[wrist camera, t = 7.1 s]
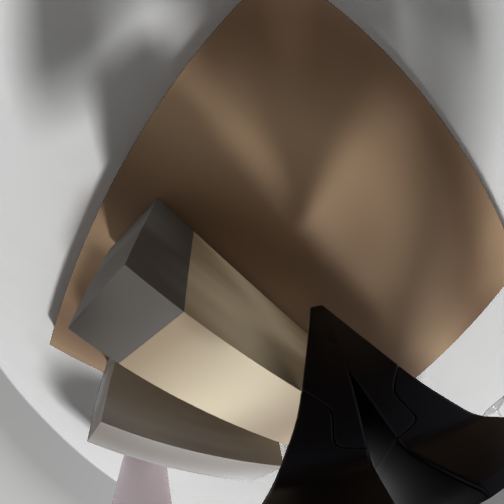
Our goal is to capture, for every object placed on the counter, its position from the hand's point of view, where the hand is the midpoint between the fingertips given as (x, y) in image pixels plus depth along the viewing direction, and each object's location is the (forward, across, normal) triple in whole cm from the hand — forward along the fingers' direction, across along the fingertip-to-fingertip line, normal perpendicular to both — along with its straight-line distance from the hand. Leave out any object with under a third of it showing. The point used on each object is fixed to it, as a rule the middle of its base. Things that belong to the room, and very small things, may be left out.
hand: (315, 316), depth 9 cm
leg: (+2, +1, +4) cm, 5 cm away
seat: (+4, -1, +3) cm, 5 cm away
